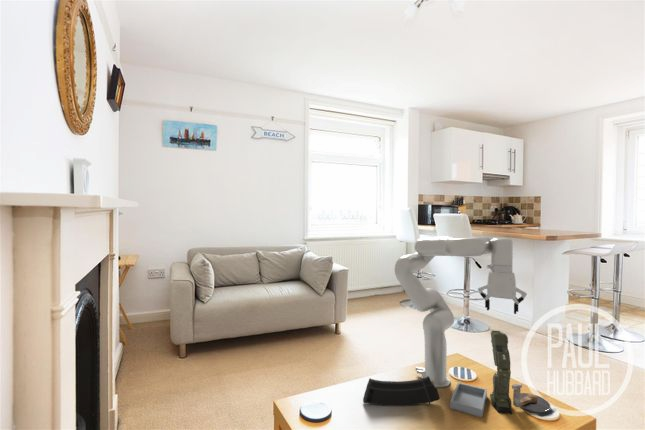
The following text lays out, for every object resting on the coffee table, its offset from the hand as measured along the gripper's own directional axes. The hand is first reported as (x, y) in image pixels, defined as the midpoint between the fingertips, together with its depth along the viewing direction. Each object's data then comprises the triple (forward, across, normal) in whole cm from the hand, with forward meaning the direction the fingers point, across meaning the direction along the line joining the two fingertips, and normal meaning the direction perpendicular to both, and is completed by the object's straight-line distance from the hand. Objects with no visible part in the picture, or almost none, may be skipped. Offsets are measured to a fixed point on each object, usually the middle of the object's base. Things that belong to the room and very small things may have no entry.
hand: (501, 311), depth 139 cm
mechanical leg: (+38, 0, 0) cm, 38 cm away
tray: (+38, -11, -5) cm, 40 cm away
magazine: (+38, -35, -20) cm, 55 cm away
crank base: (+38, +11, +6) cm, 40 cm away
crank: (+36, +8, +2) cm, 37 cm away
